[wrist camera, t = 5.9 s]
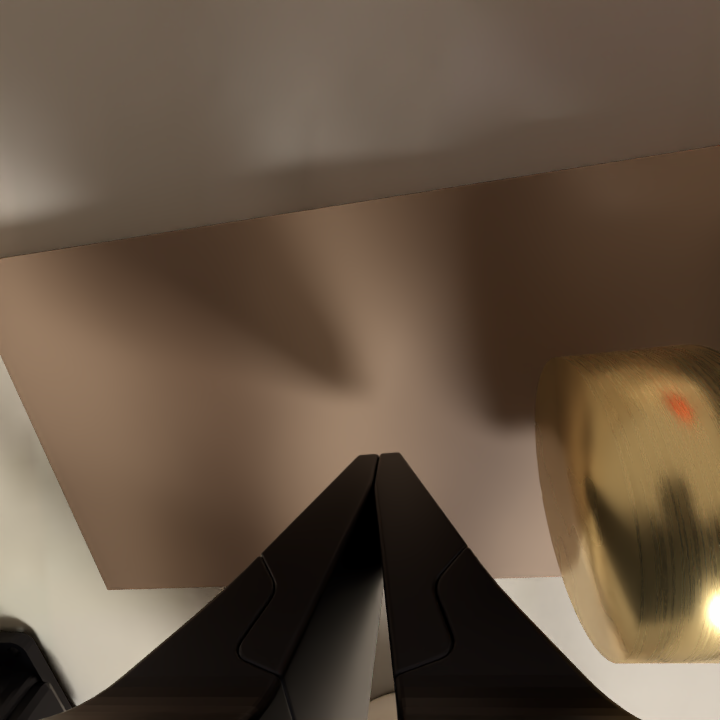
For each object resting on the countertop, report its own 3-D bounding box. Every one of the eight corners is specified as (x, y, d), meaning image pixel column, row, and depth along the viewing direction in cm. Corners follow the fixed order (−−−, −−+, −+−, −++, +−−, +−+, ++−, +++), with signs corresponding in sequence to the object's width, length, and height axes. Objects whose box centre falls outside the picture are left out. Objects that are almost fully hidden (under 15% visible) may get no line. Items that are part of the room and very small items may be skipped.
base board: (126, 564, 15) (107, 589, 14) (-4, 259, 11) (-41, 265, 10) (904, 534, 11) (947, 564, 10) (1055, 92, 8) (1140, 79, 7)
